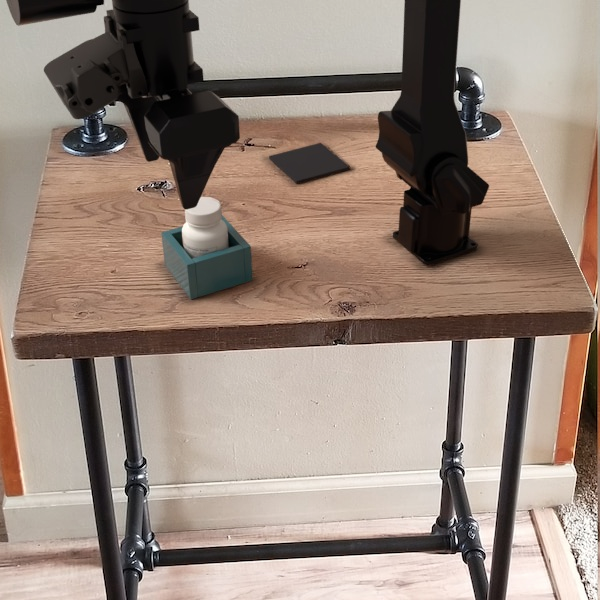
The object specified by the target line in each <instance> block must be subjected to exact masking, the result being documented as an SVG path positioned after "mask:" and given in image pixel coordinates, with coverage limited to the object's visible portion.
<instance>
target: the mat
mask: <svg viewBox="0 0 600 600" xmlns="http://www.w3.org/2000/svg"><path fill="white" fill-rule="evenodd" d="M268 160H270V162H272V163H273V164H274V165H275V166H276V167H277V168H278V169H280V170H281V172H283V173H284V174H285V175H286V177H288V178H289V179H291V181H292V182H294V183H295V184H296V185H299V184H302V183H305V182H310V181H313V180H317V179H321V178H324V177H329V176H331V175H335V174H339V173H343V172H346V171H349V170H350V169H351V166H349V164H347V163H346V162H345V161H343V160H342V159H341V158H340V157H338V155H336V154H335V153H334V152H333V151H332V150H330V149H329V148H328V147H326V146H325V145H324V144H322V142H318V143H315V144H310V145H307V146H303V147H298V148H295V149H292V150H288V151H284V152H283V151H282V152H280V153H276V154H272V155H269V156H268Z"/></svg>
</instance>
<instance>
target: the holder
mask: <svg viewBox="0 0 600 600" xmlns="http://www.w3.org/2000/svg"><path fill="white" fill-rule="evenodd" d="M221 219H222V220H223V221H224V222H225V223H226V225H227V230H228V244H229V248H227V249H223V250H220V251H217V252H213V253H210V254H206V255H203V256H199V257H196V258H193V259H191V258H190V256H189V255H188V254H187V253H186V251H185V250H184V249H183V240H182V228H183V225H182V226H179V227H175V228H171V229H168V230H165V231H162V232H160V236H161V243H162V253H163V261H164V267H165V268H166V269H167V271H168V273H170V275H171V276H172V278H173V279H174V280H175V281H176V282H177V284H178V285H179V287H180V288H181V290H182V291H183V292H184V293H185V295H187V297H188V298H189V299H190V300H194V299H197V298H200V297H204V296H207V295H210V294H213V293H217V292H220V291H224V290H226V289H229V288H233V287H236V286H239V285H242V284H245V283H250V282H252V281H253V280H254V278H253V277H254V276H253V260H252V258H253V257H252V246H251V244H250V243H249V242H248V241H247V240H246V239H245V238H244V237H243V236H242V235H241V233H240V232H238V230H237V229H236V228H235V227H234V226H233V225H232V223H231V222H229V221H228V219H226V217H225V216H224V215H223V214H222V218H221Z"/></svg>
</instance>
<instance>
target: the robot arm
mask: <svg viewBox="0 0 600 600" xmlns="http://www.w3.org/2000/svg"><path fill="white" fill-rule="evenodd" d="M5 1H6V4H7V7H8V10H9V13H10V15H11V17H12V20H13V22H14V24H15V25H16V26H17V27H20V26H25V25H31V24H36V23H42V22H47V21H48V22H49V21H55V20H60V19H65V18H71V17H77V16H83V15H88V14H93V13H95V12H96V11H97V9H98V7H99V6H103V5H105V0H5ZM461 2H462V0H404V3H403V4H404V7H403V34H402V35H403V36H402V62H401V63H402V64H401V89H400V94H399V97H398V99H397V100H396V101H395V103H394V105H393V107H392V108H391V110H380V111H379V112H378V113H377V122H378V132H379V133H378V139H377V141H376V144H375V149H376V150H377V151H379V152H380V153H381V156H382V159H383V161H384V162H385V163H386V165H387V166H388V167H390V168H391V169H392V170H394V171H395V174H396V177H397V179H399V180H401V181H403V182H404V183H405V184H406V185H408V186H409V189H406V190H404V191H403V202H402V203H403V205H402V206H400V208H399V217H398V230H395V231H393V232H392V238H393V239H394V240H395V241H396V242H397V243H398V244H399V245H401V247H403V248H405V250H407V251H408V252H409V253H410V254H411V255H412V256H413V257H414V258H415V259H417V260H418V261H419V262H420V263H422V264H423V265H424V266H432V265H435V264H438V263H441V262H445V261H447V260H450V259H453V258H456V257H459V256H462V255H466V254H468V253H472V252H475V251H477V250H478V248H479V244H478V243H477V242H476V241H475V240H473V238H471V237H470V231H471V230H470V229H471V219H472V209H473V208H475V207H477V206H481V205H482V204H483V203H484V200H485V198H486V196H487V193H488V191H489V188H490V184H489V183H488V182H487V181H486V180H484V178H482V177H481V176H480V175H479V174H477V173H476V172H475V171H474V170H473V169H471V167H469V151H468V139H467V132H466V129H465V127H464V124H463V121H462V119H461V118H462V117H461V116H460V113H459V111H458V108H457V105H456V101H455V88H456V77H457V76H456V74H457V61H458V47H459V46H458V45H459V32H460V18H461V6H462V5H461ZM111 5H112V8H111V9H106V11H105V12H106V15H104V16H103V25H104V33H102V34H100V35H97V36H95V37H94V38H91V39H88V40H85V41H83V42H82V43H80V44H78V45H76V46H74V47H73V48H71V49H69V50H67V51H66V52H64V53H62V54H61V55H59V56H57V57H55V58H54V59H52V60H50V61H49V62H48V63H47V64H45V66H44V67H43V72H44V75H45V76H46V77H47V79H48V81H49V82H50V84H51V86H52V87H53V89H54V91H55V93H56V94H57V96H58V97H59V99H60V101H61V102H62V105H64V107H65V108H66V109H67V111H68V113H69V114H70V116H71V117H72V118H73V119H74V120H82V119H86V118H88V117H89V116H91V115H92V114H94V113H96V112H99V110H101V109H103V108H105V107H106V106H108V105H110V104H112V103H113V102H115V101H119V102H120V103H122V104H123V106H124V108H125V112H126V113H127V116H128V119H129V120H130V123H131V126H132V128H133V131H134V134H135V136H136V139H137V141H138V144H139V146H140V149H141V151H142V154H143V157H144V159H145V160H146V162H148V163H151V162H154V161H158V160H159V159H162V160H165V161H168V162H169V166H170V170H171V173H172V177H173V180H174V185H175V187H176V191H177V194H178V197H179V200H180V204H181V206H182V208H183V210H185V209H186V210H187V209H191V208H194V207H196V206H197V204H198V202H199V200H200V197H202V195H203V194H204V191H205V189H206V186H207V184H208V182H209V180H210V177H211V175H212V173H213V172H214V171H213V170H214V169H215V167H216V165H217V163H218V161H219V159H220V157H221V156H222V154H223V153H224V150H225V149H226V148H228V147H231V146H232V145H233V144H236V143H237V142H238V141H239V140H240V139H241V135H240V117H239V115H238V113H236V111H234V110H233V108H231V106H229V105H228V104H227V103H226V102H225V101H224V100H223V99H222V98H221V97H219V96H218V95H217V94H215V93H214V92H213V91H211V90H205V91H199V92H194V93H193V92H192V91H190V89H189V85H191V84H197V83H201V82H204V71H203V67H201V66H200V65H199V64H198V63H197V62H196V61H195V59H194V49H193V48H194V47H193V35H192V32H198V31H200V19H199V16H198V15H196V13H195V12H193V11H192V10H191V9H190V1H189V0H111Z"/></svg>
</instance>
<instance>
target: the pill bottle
mask: <svg viewBox="0 0 600 600" xmlns="http://www.w3.org/2000/svg"><path fill="white" fill-rule="evenodd" d="M222 215H223V211H222V204H221V202H220V201H219V200H218V199H216V198H214V197H210V196H201V197H200V200H199V202H198V204H197V206H196V207H194V208H191V209H187V210H186V209H184V217H185V222H184V224H183V225H182V226H183V228H182V240H183V249H184V250H185V251H186V253H187V254H188V255H189V256H190V258H191V259H193V258H196V257H199V256H203V255H206V254H210V253H213V252H217V251H220V250H223V249H227V248H229V244H228V230H227V225H226V223H225V222H224V221H223V220H222V219H221V218H222Z"/></svg>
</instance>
